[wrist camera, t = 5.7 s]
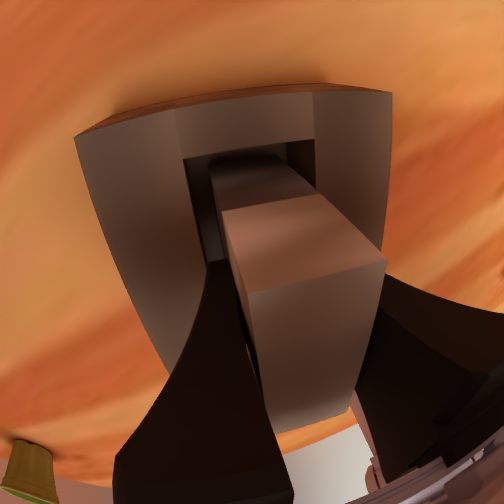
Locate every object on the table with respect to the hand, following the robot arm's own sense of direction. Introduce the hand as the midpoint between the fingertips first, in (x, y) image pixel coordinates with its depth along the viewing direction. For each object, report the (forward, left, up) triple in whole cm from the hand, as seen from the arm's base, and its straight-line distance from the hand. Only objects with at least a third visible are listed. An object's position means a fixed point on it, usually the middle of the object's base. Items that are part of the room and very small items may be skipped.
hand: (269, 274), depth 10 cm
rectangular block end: (0, 0, -3) cm, 3 cm away
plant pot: (+34, +28, -6) cm, 44 cm away
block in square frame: (0, 0, -6) cm, 6 cm away
